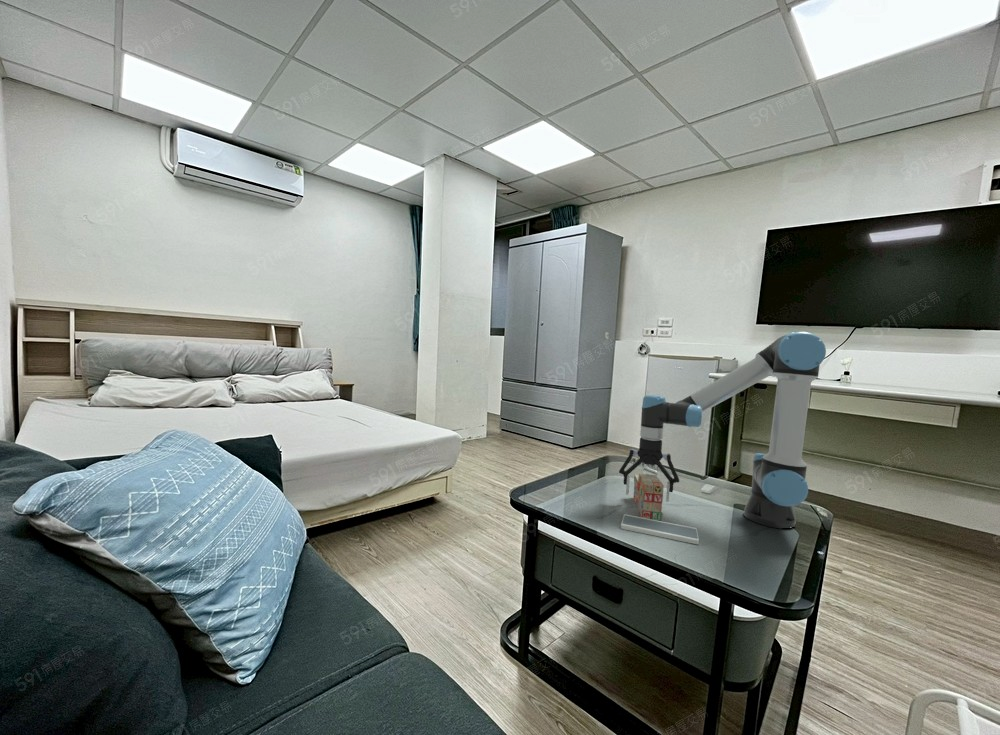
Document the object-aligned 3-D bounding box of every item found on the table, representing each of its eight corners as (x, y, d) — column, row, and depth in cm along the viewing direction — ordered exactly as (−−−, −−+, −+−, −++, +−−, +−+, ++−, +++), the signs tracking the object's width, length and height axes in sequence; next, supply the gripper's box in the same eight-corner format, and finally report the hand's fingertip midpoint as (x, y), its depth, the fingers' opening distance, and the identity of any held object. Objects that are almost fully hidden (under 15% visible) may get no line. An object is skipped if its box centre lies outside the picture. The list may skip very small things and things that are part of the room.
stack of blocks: (632, 498, 157) (634, 466, 157) (649, 500, 156) (651, 468, 155) (641, 519, 136) (644, 482, 136) (661, 521, 135) (663, 485, 134)
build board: (696, 531, 128) (696, 527, 127) (698, 544, 118) (698, 540, 118) (624, 517, 136) (624, 513, 136) (620, 528, 127) (621, 524, 127)
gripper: (688, 441, 144) (684, 500, 144) (616, 432, 153) (612, 487, 154) (689, 445, 137) (685, 507, 137) (614, 435, 146) (610, 493, 147)
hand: (647, 497), depth 145 cm, fingers open, 13 cm apart
